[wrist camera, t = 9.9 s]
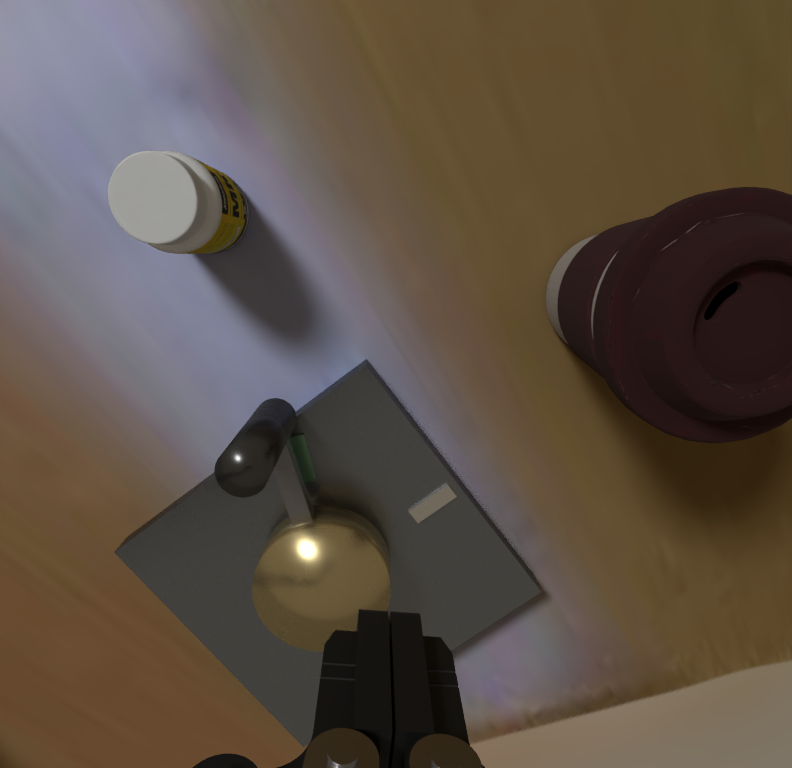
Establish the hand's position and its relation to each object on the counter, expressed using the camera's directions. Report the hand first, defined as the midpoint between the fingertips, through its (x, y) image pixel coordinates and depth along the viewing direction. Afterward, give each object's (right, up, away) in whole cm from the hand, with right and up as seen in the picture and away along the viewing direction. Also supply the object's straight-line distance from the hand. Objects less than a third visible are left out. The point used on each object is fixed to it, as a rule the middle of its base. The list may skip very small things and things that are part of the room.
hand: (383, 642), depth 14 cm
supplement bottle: (-11, +16, +20) cm, 28 cm away
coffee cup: (+13, +12, +21) cm, 28 cm away
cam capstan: (-5, -2, +21) cm, 22 cm away
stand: (-4, -5, +25) cm, 26 cm away
